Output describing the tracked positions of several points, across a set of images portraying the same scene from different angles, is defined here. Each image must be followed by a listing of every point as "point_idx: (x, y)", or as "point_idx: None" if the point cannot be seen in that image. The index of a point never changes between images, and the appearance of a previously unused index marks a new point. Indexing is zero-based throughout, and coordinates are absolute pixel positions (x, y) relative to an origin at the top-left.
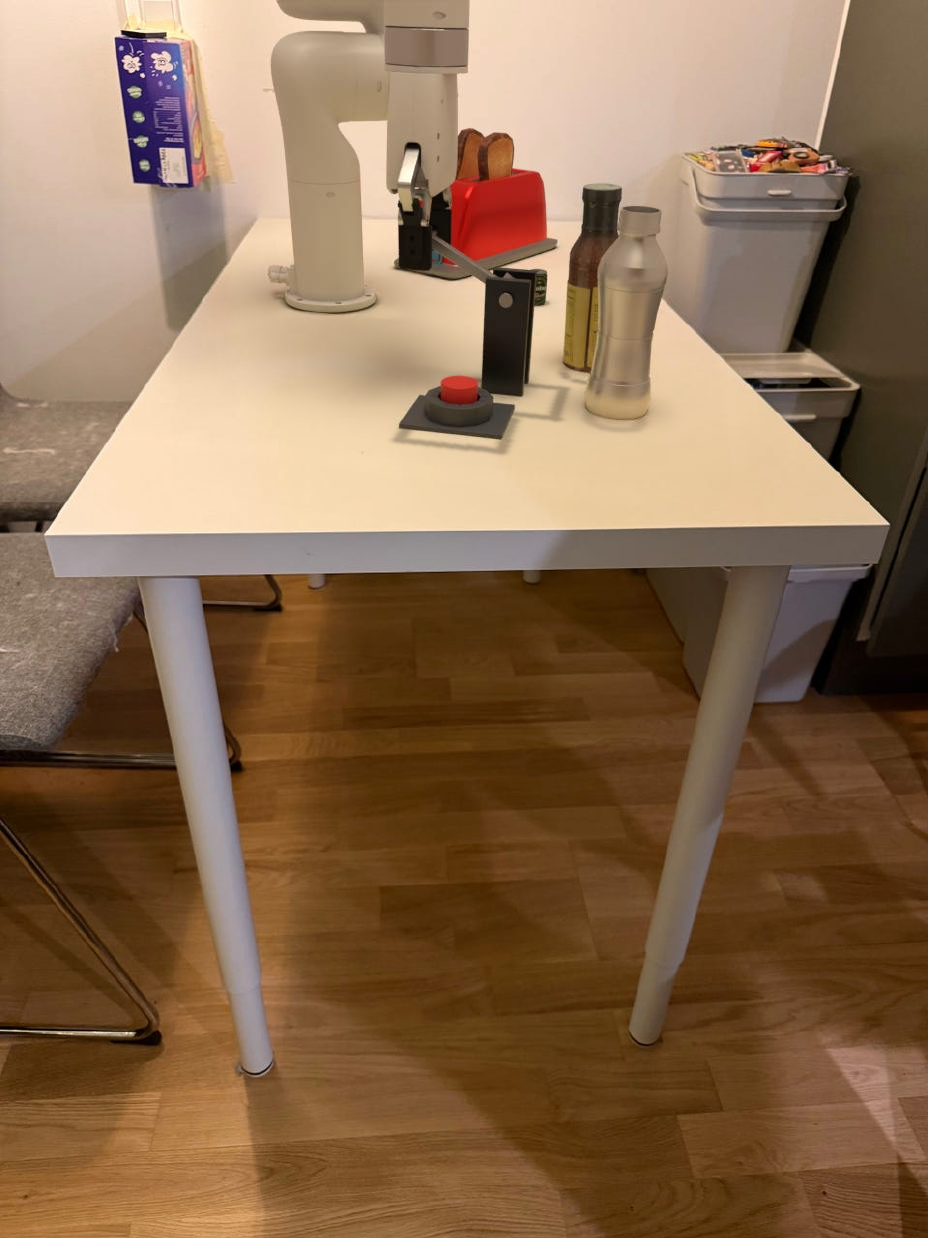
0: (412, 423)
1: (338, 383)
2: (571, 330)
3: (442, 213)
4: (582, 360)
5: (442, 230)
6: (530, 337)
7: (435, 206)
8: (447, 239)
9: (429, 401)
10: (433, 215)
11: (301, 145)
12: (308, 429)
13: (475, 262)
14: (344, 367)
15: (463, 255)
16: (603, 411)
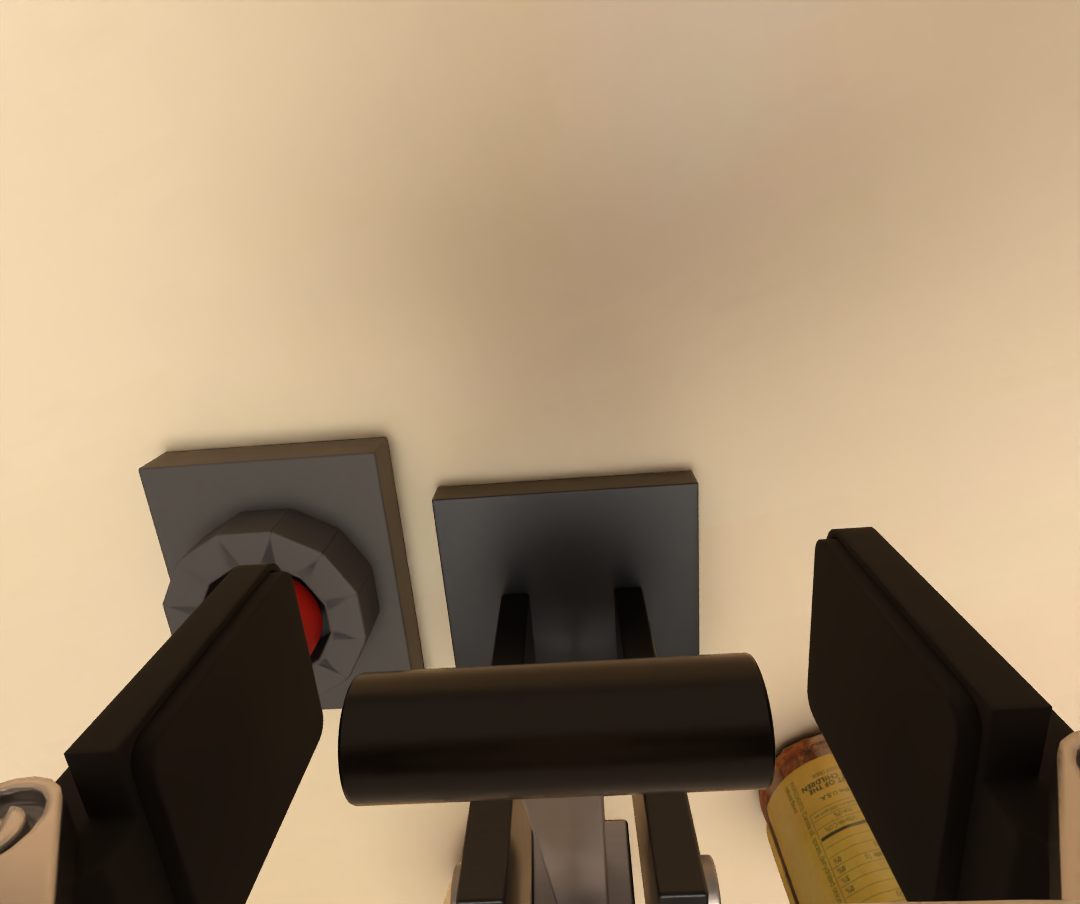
0: (159, 502)
1: (507, 82)
2: (826, 860)
3: (921, 875)
4: (773, 823)
5: (856, 761)
6: (632, 798)
7: (988, 866)
8: (830, 747)
9: (181, 560)
10: (920, 786)
11: None
12: (94, 168)
13: (591, 873)
14: (683, 26)
15: (572, 855)
16: (449, 885)
